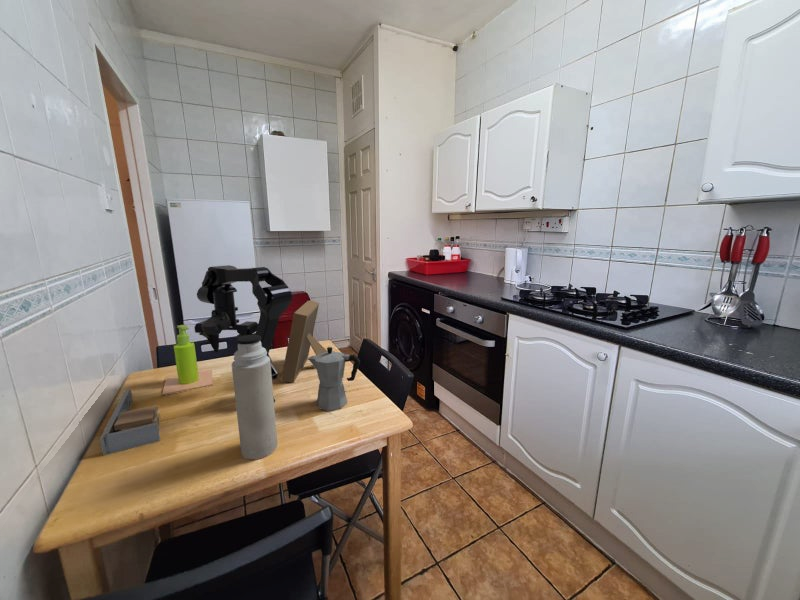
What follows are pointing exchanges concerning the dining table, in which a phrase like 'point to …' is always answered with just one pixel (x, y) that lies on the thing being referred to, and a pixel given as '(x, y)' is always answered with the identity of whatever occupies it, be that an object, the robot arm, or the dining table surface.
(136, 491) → the dining table surface
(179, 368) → the soap dispenser
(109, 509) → the dining table surface
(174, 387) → the terracotta tile
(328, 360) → the coffeepot
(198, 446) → the dining table surface
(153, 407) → the walnut offcuts
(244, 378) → the thermos bottle
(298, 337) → the photo frame
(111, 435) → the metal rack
